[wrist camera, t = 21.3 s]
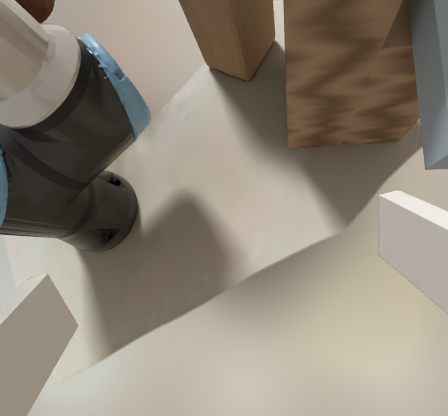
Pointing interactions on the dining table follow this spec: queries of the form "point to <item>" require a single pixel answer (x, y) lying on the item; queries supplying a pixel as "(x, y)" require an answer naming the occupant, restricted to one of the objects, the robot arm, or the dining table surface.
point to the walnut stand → (348, 72)
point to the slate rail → (431, 76)
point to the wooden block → (232, 33)
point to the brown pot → (37, 8)
